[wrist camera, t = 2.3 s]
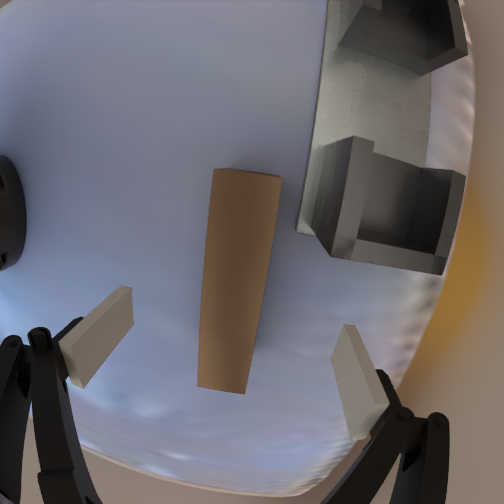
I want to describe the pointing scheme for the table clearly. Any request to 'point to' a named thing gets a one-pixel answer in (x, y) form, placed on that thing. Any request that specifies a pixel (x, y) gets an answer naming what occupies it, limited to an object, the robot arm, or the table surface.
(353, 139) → the grey rectangular holder
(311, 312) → the table surface
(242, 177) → the rail
